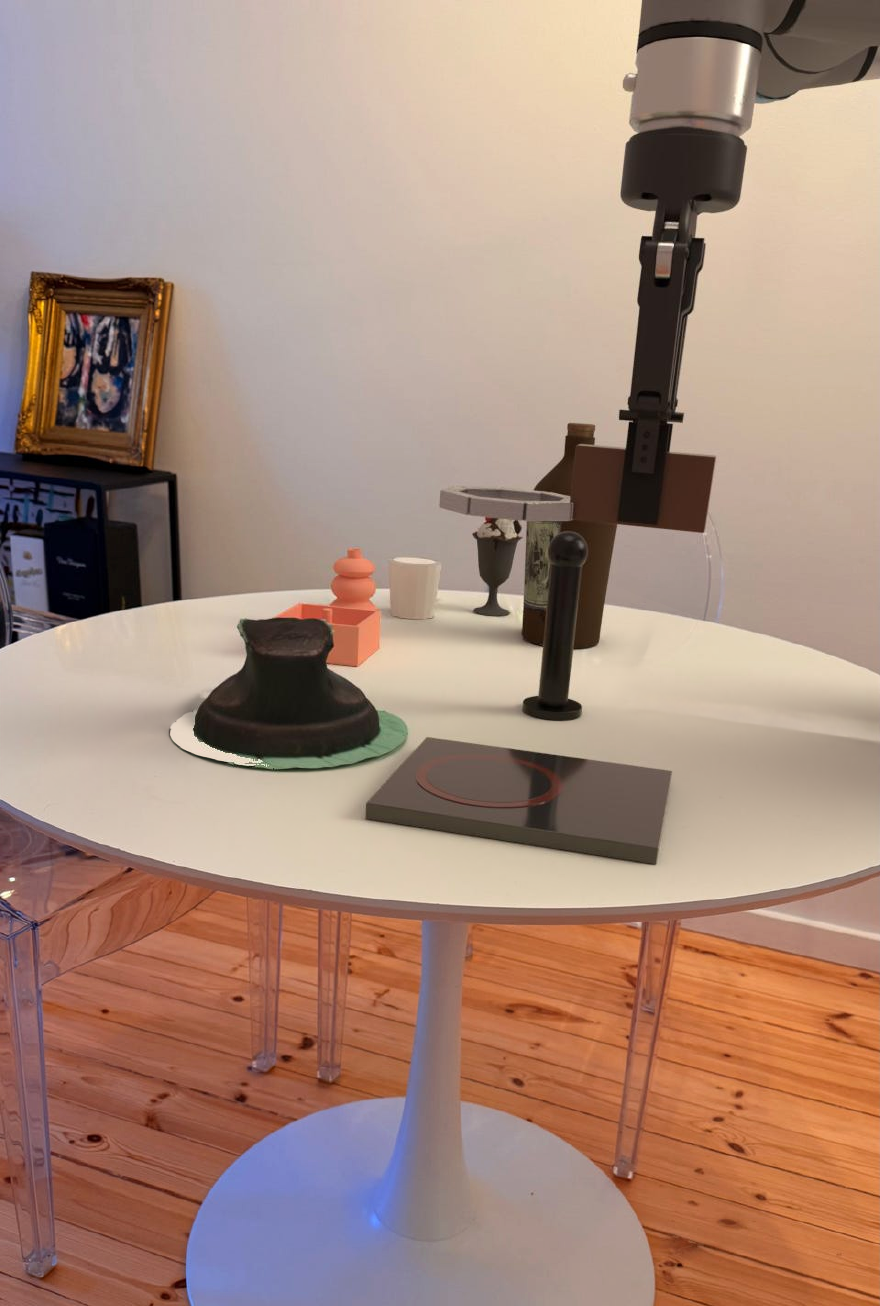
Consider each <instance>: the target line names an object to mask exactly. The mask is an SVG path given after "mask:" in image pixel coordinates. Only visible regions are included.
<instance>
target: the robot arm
mask: <svg viewBox="0 0 880 1306" xmlns="http://www.w3.org/2000/svg"><path fill="white" fill-rule="evenodd" d="M640 7H641V8H640V16H639V28H638V35H637V37H638V38H637V44H636V57H635V63H634V64H635V67H636V69H637V70H636V73H633V72H629V73H626V74H625V75H624V78H623V80H622V89H623V90H624V91H625V92H628V93H632V94H631V98H630V110H629V117H628V118H629V119H628V125H629V127H631V128H632V130H633V131H634V132H635V134H633V135H632V136H631V137H630V138H629V140H627V142H625V145H624V146H625V148H624V154H623V155H624V156H623V164H622V173H621V174H622V175H621V184H620V195H619V197H620V199H621V201H622V203H623V204H625V205H626V206H628V207H630V208H632V209H636V210H638V211H639V210H640V211H645V212H654V220H653V225H652V233H651V235H641V237H640V243H639V249H638V250H639V251H638V261H639V264H640V268H641V269H640V275H639V282H638V292H637V297H636V298H637V299H636V303H637V305H638V317H637V326H636V334H635V335H636V337H635V345H634V353H633V354H634V356H633V364H632V375H631V384H630V391H629V392H630V393H629V396H628V397H627V409H619V411H618V421H628V426H627V433H626V444H625V448H626V450H625V459H624V467H623V476H622V484H621V493H620V501H619V510H618V518H617V521H621V522H632V523H643V524H653V525H657V524H658V516H659V508H660V501H661V493H662V486H663V478H664V470H665V463H666V455H667V451H668V452H671V450H670V449H671V443H672V435H673V429H674V423H676V424H677V423H679V424H683V423H684V418H685V412H681V411H680V412H678V411H676V410H677V407H678V403H679V399H678V398H677V397H678V391H679V384H680V383H679V382H680V375H681V370H682V369H681V368H682V361H683V356H684V355H683V353H684V348H685V347H684V346H685V342H686V341H685V340H686V333H687V326H688V318H689V315H691V314H692V313H693V311H694V309H695V303H696V295H697V289H698V279H699V274H700V273H701V271H702V270H703V268H704V262H705V255H706V248H707V247H706V245H707V243H705V237H696V232H697V225H698V224H697V222H698V216H699V215H701V214H704V213H706V214H707V213H708V214H717V213H723V212H727V211H730V210H733V209H734V208H735V207H736V206H738V204H739V202H740V200H741V195H742V188H743V182H744V181H743V180H744V174H745V173H744V172H745V167H746V161H747V153H748V146H747V144H746V143H745V141H744V139H743V138H742V137H741V136H743V135H744V134H745V133H747V132H748V131H749V130H751V128H752V122H753V116H754V109H755V104H757V105H758V104H760V105H764V104H770V103H774V102H778V101H779V102H780V101H784V100H787V99H788V98H790V97H791V96H794V95H796V94H797V93H798V92H799V91H802V90H803V91H804V90H809V89H818V88H819V89H820V88H826V87H834V86H835V87H836V86H841V85H847V84H851V83H857V82H863V81H864V82H865V81H873V80H880V0H641V6H640Z"/></svg>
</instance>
